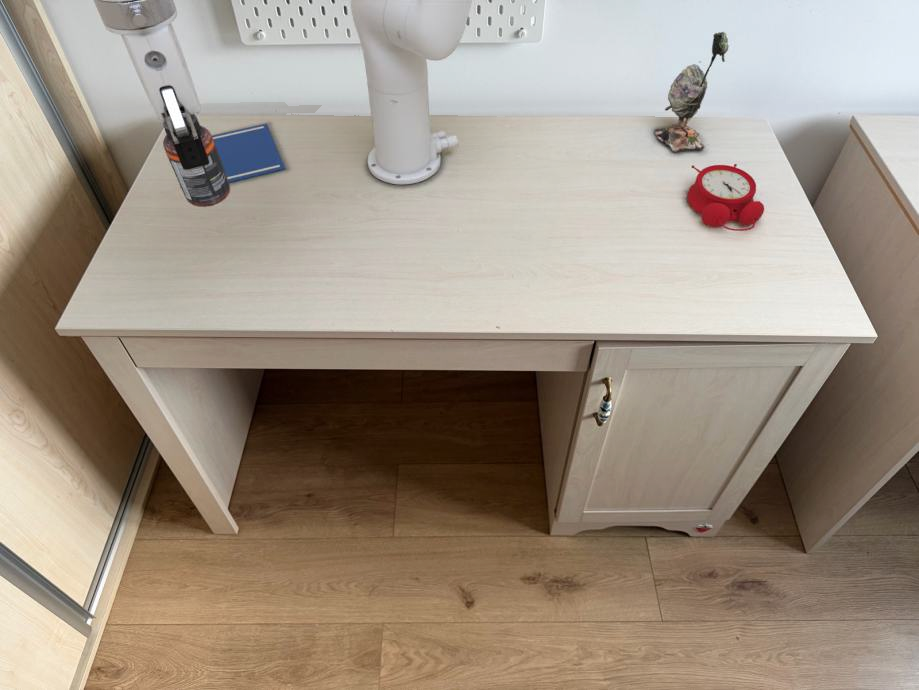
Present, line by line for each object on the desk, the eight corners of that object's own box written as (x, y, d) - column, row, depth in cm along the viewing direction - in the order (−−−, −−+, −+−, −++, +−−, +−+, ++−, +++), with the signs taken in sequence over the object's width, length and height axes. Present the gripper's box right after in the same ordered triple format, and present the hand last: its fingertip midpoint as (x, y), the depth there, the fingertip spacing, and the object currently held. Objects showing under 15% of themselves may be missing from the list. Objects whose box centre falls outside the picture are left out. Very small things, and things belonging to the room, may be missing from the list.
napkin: (266, 124, 125) (266, 123, 125) (285, 169, 116) (285, 167, 116) (184, 143, 122) (183, 141, 121) (197, 190, 113) (196, 189, 113)
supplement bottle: (195, 179, 92) (166, 104, 83) (237, 182, 91) (212, 106, 83) (179, 207, 88) (146, 132, 80) (222, 210, 88) (194, 134, 79)
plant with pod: (692, 119, 125) (724, 9, 110) (706, 155, 118) (742, 43, 103) (649, 119, 125) (674, 10, 110) (660, 155, 118) (689, 43, 103)
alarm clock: (745, 159, 111) (784, 198, 99) (736, 194, 115) (773, 236, 103) (682, 161, 111) (714, 201, 99) (676, 196, 115) (706, 239, 103)
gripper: (185, 33, 66) (235, 182, 80) (161, -34, 76) (209, 109, 91) (106, 49, 65) (171, 199, 79) (92, -21, 75) (152, 122, 89)
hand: (191, 149), depth 84 cm, fingers closed on supplement bottle, 5 cm apart
